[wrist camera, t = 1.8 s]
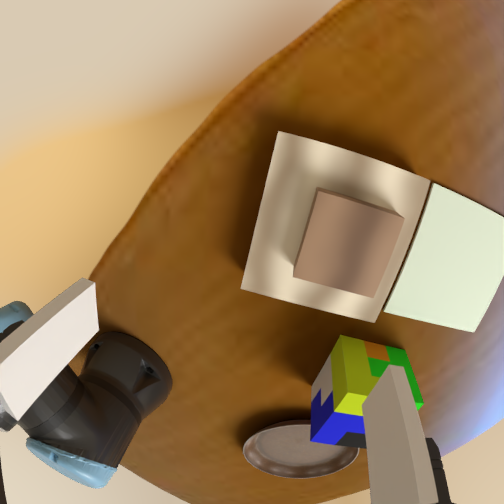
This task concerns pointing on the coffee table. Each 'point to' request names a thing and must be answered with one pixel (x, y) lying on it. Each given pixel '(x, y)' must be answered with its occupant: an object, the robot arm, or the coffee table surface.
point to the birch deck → (297, 211)
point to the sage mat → (451, 263)
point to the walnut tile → (347, 243)
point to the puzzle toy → (351, 389)
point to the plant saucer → (295, 452)
